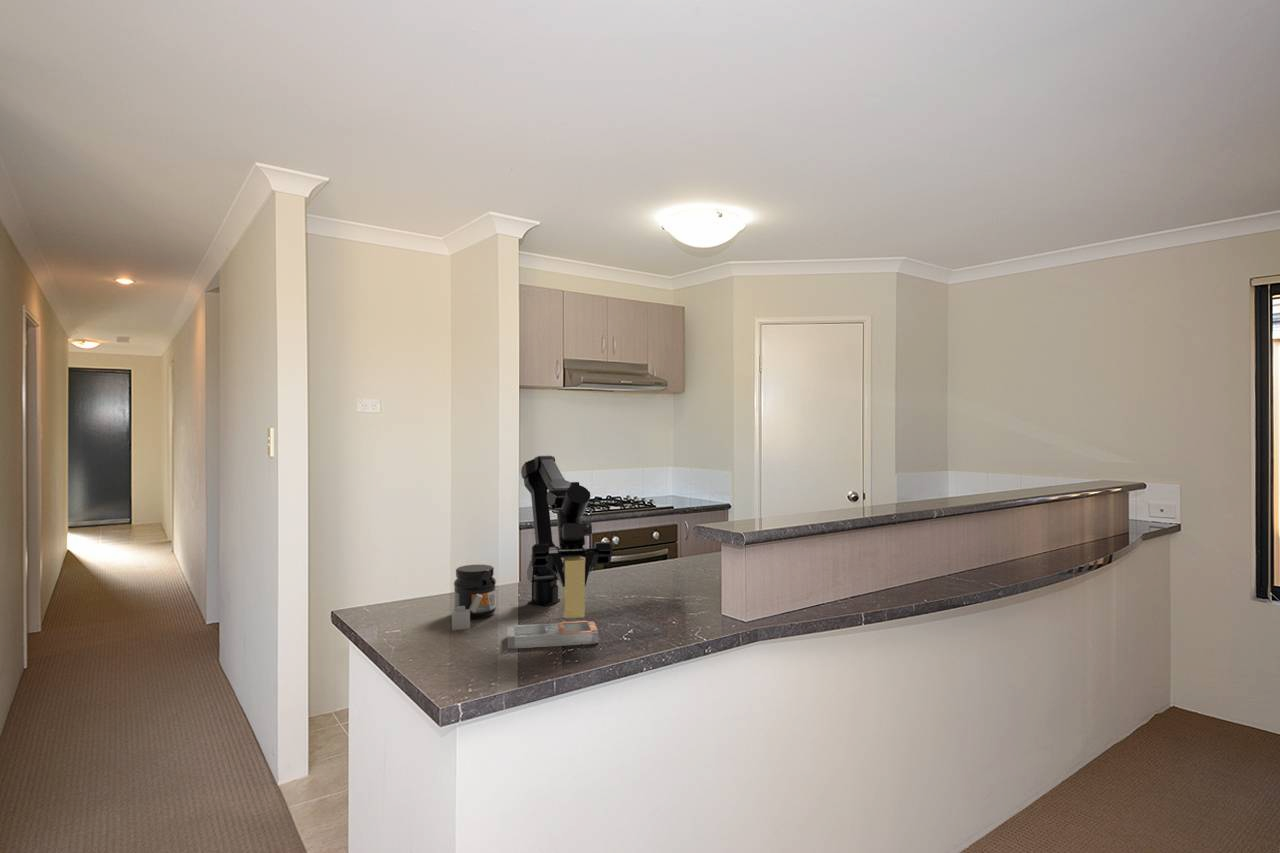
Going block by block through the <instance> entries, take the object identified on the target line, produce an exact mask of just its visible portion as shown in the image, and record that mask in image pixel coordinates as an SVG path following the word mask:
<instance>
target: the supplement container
mask: <svg viewBox="0 0 1280 853" xmlns="http://www.w3.org/2000/svg"><path fill="white" fill-rule="evenodd" d="M494 575H495V568H494V566H492V565H489V564H479V563H478V564H466V565H461V566H458V567H456V569H455V577H456V579H455V580H454V582H453V588H454V591H453V592H454V595H453V596H454V597H453V598H454V604H453V606H454V610H455V608H456V607H458V606H465V609H469V608H470V606H471V604H472V602H473V600H474V598H475V596H476V594H480V595H482V596H483V597H482V599H481V601H480V604H479V606H478V608H477V610H476V612H472V611H470V620H479V619H486V618H489V617H491V616H492V615H494V614H495V613H496V610H497V607H496V606H497V605H496V584H497V580H496V578H495V577H494ZM454 610H453V611H454Z"/></svg>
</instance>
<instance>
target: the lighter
mask: <svg viewBox="0 0 1280 853" xmlns="http://www.w3.org/2000/svg"><path fill="white" fill-rule="evenodd" d="M482 597H483V596H482V595H480V594H476V596H475V598H474V600H473V602H472V604H471V606H470V608H469V609H465V606H458V607H456V608H455V610H451V629H452V631H461V630H470V629H471V619H470V611H472V612H476V610H477V608H478V606H479V604H480V601H481V599H482Z"/></svg>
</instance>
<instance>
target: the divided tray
mask: <svg viewBox="0 0 1280 853" xmlns="http://www.w3.org/2000/svg"><path fill="white" fill-rule="evenodd" d="M506 627H507V631H506V632H507V639H506V640H507V649H508V650H512V649H528V648H546V647H548V648H550V647H562V646H563V647H564V646H565V647H566V646H577V645H578V646H581V644H582V645H592V644H593V645H596V643H598V644H599V629H598V628H597V626H596V624H595V621H594V620H593V621H592V620H591V621H589V620H576V621H572V620H571V621H558V622H556V623H555V622H551V623H535V624H534V623H533V624H518V625H517V624H516V625H514V624H513V625H507V626H506Z"/></svg>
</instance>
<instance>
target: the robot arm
mask: <svg viewBox="0 0 1280 853" xmlns="http://www.w3.org/2000/svg"><path fill="white" fill-rule="evenodd" d="M520 473H521V478H522V479H523V483H524V484H523V485H524V487H525V488H526V489H527V491H528V492H529V493H530V499H531V506H532V507H531V508H532V518H533V528H534V540H535V544H533V545H532V546H531V554H530V560H529V564H528V566H527V570H526V577H527V578H526V579H527V580H528V581H529V582H530V583H531V599H530V600H528V601H527V603H528V604H532V605H538V606H539V605H540V606H544V607H545V606H550V605H553V604H555V603H558V602H560V601H561V598H559V586H558V581H559V584H561V586H562V588H563V587H564V586H565V581H564V574H563V557H573V556H583V558H584V560H585V587H586V586H587V583H588V579H589V575H590V573H591V571H592V569H593V568H595V567H597V565H609V564H611V562H612V559H613V558H612V557H613V552H614V548H613V544H612V543H611V541H597V542H594V546H593V548H586V547H585V548H584V546H585V545H586V539H585V537H588V536H592V535H593V534H592V533H593V524H592V520H584V521H583V522H582V517H583V516H584V515H585V512H586V510H587V507H588V504H589V502H590V499H591V492H590V491H589V490H588V488H586V487H585V486H583V485H580V482H579V481H568V480H566V479H565V477H564V476H563V474H562V473H561V470H560V469H559V467H558V465H557V463H556V458H555V456H553V455H538V456H535V457H534V458H533V459H531V460H528V461H525V462H524V464H523V465H522V466H521V472H520ZM550 509H551V510H558V511H557V513H556V516H557V518H556V519H557V533H558V546H557V545H555V543H554V542H553V535H552V526H551V525H552V524H551V514H550Z"/></svg>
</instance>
